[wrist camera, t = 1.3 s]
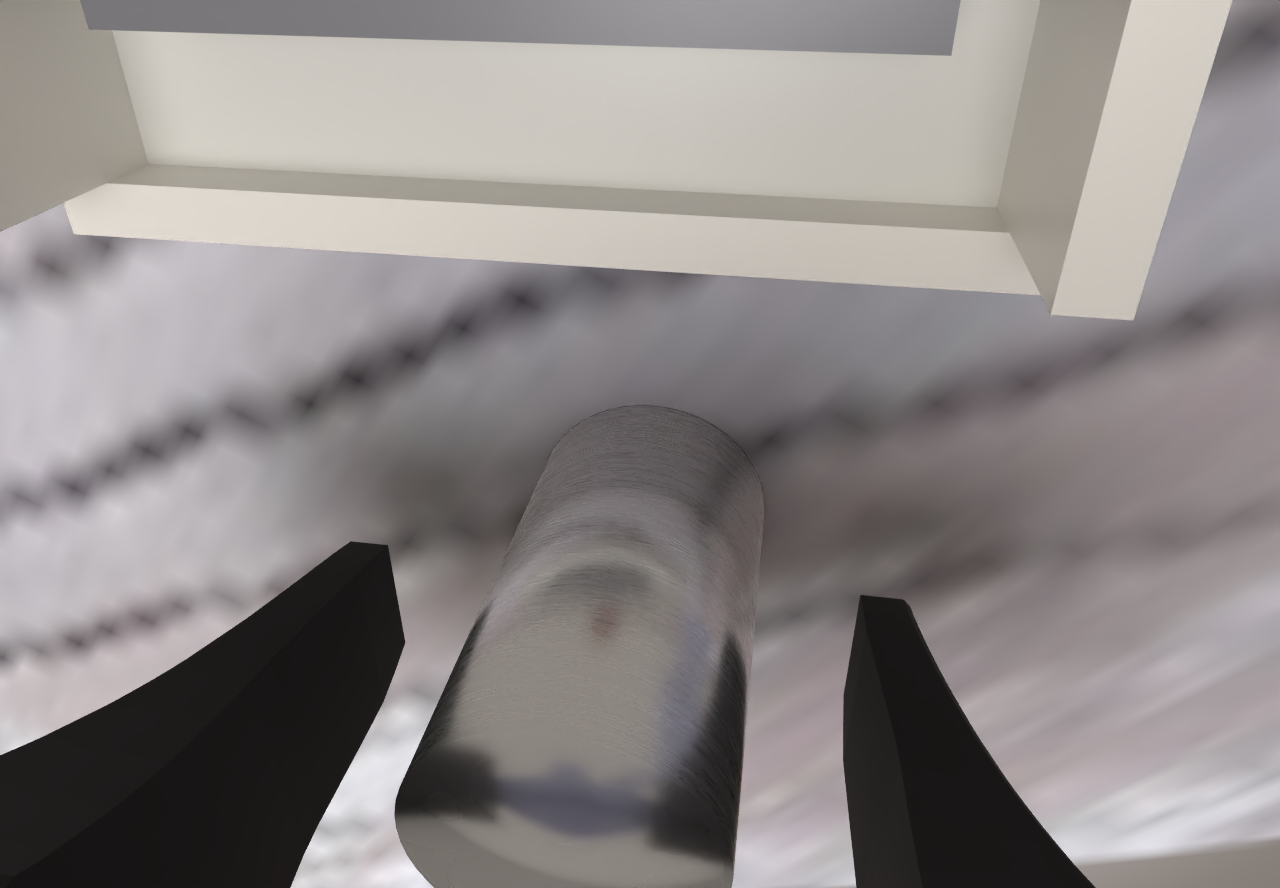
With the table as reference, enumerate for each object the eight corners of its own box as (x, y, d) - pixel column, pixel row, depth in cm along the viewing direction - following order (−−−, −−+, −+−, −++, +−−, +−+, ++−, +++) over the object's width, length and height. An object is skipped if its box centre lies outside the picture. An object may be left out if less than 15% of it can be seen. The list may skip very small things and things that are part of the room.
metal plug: (773, 415, 15) (744, 760, 9) (756, 600, 17) (724, 974, 12) (536, 396, 16) (370, 711, 10) (548, 577, 18) (417, 924, 12)
